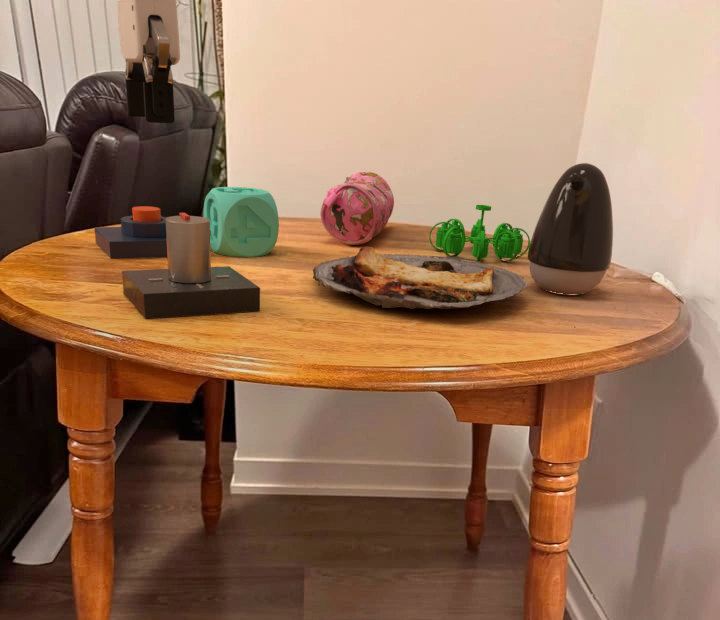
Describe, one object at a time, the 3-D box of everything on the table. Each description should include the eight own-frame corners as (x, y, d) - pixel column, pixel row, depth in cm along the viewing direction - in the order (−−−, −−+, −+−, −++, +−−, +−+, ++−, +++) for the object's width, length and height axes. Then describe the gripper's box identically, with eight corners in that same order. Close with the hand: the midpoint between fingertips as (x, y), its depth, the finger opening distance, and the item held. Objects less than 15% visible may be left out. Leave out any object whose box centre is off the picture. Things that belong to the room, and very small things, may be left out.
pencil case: (340, 222, 134) (342, 168, 130) (393, 227, 134) (397, 172, 129) (317, 245, 116) (319, 181, 111) (378, 250, 115) (383, 187, 111)
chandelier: (522, 248, 123) (530, 203, 120) (532, 268, 110) (540, 218, 107) (428, 241, 124) (433, 195, 121) (426, 259, 111) (432, 209, 108)
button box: (110, 259, 98) (108, 226, 97) (95, 243, 106) (93, 213, 104) (203, 256, 104) (202, 225, 102) (182, 241, 111) (181, 212, 109)
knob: (216, 282, 81) (215, 219, 78) (174, 284, 79) (171, 220, 76) (204, 272, 84) (202, 212, 82) (163, 274, 83) (160, 212, 80)
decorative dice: (278, 256, 106) (279, 195, 103) (223, 259, 103) (222, 195, 99) (257, 245, 113) (257, 186, 109) (203, 246, 109) (202, 186, 105)
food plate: (277, 296, 88) (277, 264, 86) (361, 262, 107) (362, 235, 105) (491, 335, 79) (496, 301, 78) (540, 290, 98) (545, 262, 97)
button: (136, 224, 101) (135, 210, 100) (130, 219, 104) (129, 206, 103) (164, 224, 103) (163, 210, 102) (157, 219, 105) (156, 206, 105)
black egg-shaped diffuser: (511, 291, 97) (532, 160, 90) (535, 277, 105) (555, 156, 98) (593, 305, 93) (621, 170, 86) (611, 289, 101) (637, 165, 94)
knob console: (145, 319, 77) (143, 292, 75) (123, 293, 84) (121, 269, 83) (260, 311, 82) (260, 285, 80) (229, 288, 89) (229, 264, 88)
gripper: (196, -58, 79) (201, 126, 87) (157, -43, 92) (164, 115, 100) (120, -69, 76) (133, 124, 84) (91, -51, 89) (104, 113, 97)
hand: (150, 119), depth 92 cm, fingers open, 9 cm apart
